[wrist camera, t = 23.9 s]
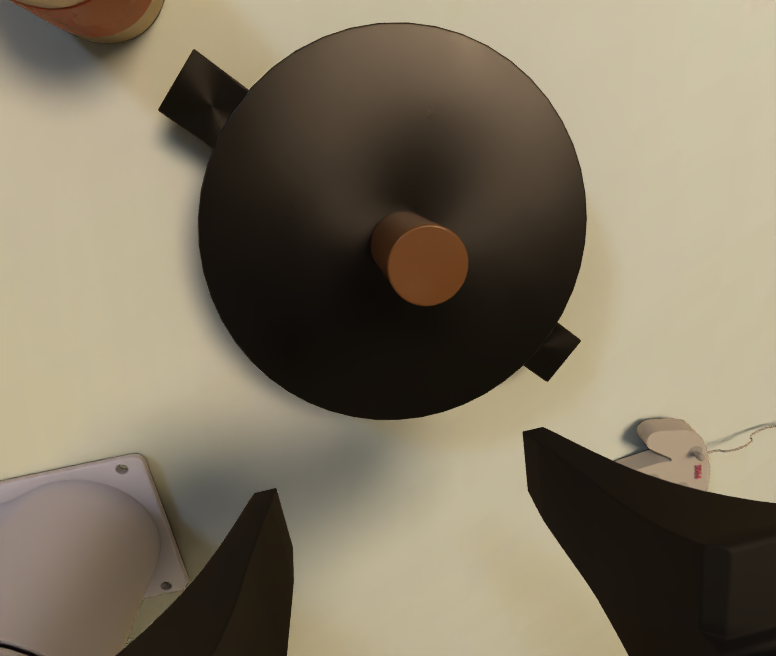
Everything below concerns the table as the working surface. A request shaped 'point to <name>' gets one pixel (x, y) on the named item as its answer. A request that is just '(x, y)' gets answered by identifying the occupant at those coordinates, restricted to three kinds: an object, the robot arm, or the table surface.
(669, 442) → the game controller
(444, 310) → the pan lid
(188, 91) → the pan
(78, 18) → the can
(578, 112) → the table surface
